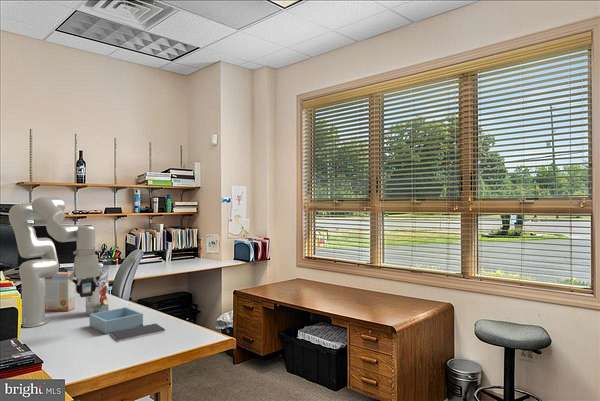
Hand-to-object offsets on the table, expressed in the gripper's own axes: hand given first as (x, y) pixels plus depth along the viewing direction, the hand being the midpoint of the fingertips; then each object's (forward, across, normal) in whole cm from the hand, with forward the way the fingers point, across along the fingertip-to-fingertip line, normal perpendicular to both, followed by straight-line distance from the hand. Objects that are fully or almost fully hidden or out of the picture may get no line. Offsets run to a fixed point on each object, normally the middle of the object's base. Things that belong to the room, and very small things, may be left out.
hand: (86, 291), depth 191 cm
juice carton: (+20, +17, +32) cm, 41 cm away
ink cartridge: (+2, 0, 0) cm, 2 cm away
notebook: (+20, +17, -16) cm, 31 cm away
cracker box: (+20, +5, +55) cm, 58 cm away
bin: (+19, +14, +2) cm, 24 cm away
